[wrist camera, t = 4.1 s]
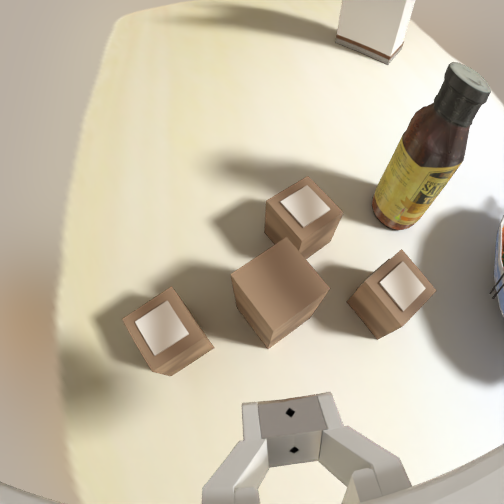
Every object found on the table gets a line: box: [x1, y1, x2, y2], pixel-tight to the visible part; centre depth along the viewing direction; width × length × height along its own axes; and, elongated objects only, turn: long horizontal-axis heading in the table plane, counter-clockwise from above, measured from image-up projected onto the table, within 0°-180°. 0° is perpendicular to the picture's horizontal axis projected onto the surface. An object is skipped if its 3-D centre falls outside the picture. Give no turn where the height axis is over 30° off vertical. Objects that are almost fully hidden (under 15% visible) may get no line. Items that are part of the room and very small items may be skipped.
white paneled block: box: [347, 249, 436, 340], centre depth 28 cm, size 5×5×6 cm
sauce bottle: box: [372, 62, 491, 230], centre depth 27 cm, size 6×6×20 cm
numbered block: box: [122, 286, 214, 376], centre depth 27 cm, size 5×5×6 cm
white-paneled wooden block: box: [264, 176, 343, 259], centre depth 31 cm, size 5×5×6 cm
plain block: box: [231, 237, 330, 349], centre depth 27 cm, size 5×5×9 cm
